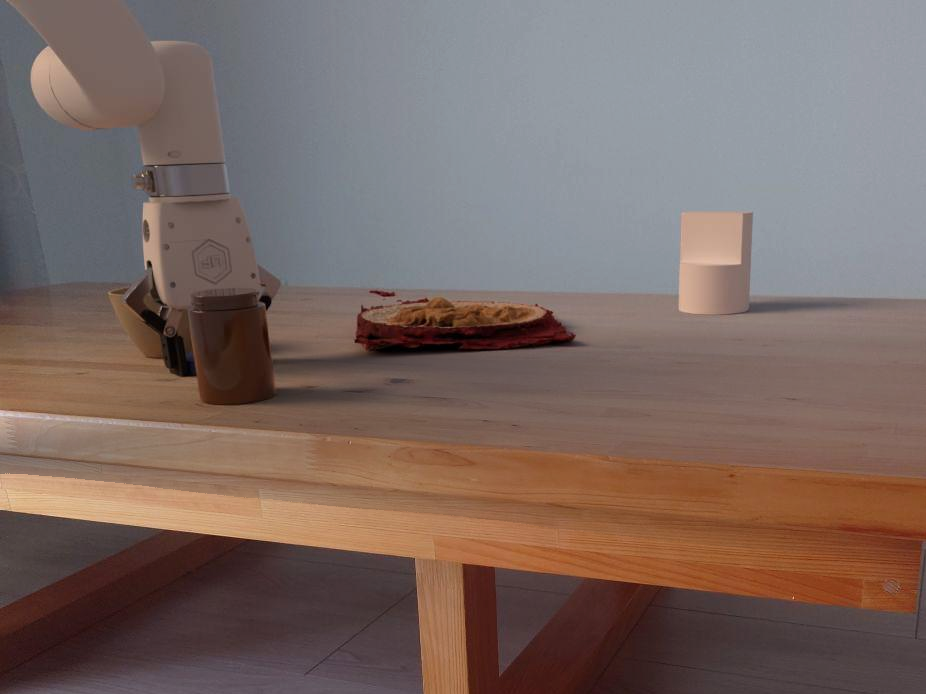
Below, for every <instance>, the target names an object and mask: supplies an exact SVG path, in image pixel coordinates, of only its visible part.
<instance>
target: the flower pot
mask: <svg viewBox="0 0 926 694" xmlns="http://www.w3.org/2000/svg"><path fill="white" fill-rule="evenodd" d="M131 286H132V285H130V286H124V287H120V288H119V287H118V288H115V289H113V290H110V291H108V292H107V293H108V294H107V295H108V297H109V300H110V303H111V306H112V308H113V311H114V312H115V315H116V317H117V318H118V321H119V323H120V324H121V326H122V328H123V329H124V331H125V332H126V334H127V336H128V337H129V339H130V340H131V341H132V343H133V344H134V345H135V346H136V348H137V349H139V351H140V352H141V353H142V354H143V356H145V357H146V358H147V357H148V358H153V359H157V358H158V359H159V358H163V352H162V346H161V341H160V335H159V334H157V333H156V332H155V331H154V330H153V329H151V328H150V327H149V326H147V325H146V324H145V323H143V322H142V321H141V320H140V319H139V318H138V317H137V316H136V315H135V314H134V313H132V312H131V311H130V310H129V309H128V308H127V307H126V306H125V305H124V304H123V303H122V302H121V298H122V296H123V295H124V294H125V293H126V291H127V290H128V289H129V288H130V287H131ZM144 303H145V305H146V306H147V307H148V308H149V309H150V310H151V311H153V312H155V313H156V314H158V311H159V308H160V305H158V304H155V303H154V302H153V301H152V300H151V298H150V295H149V293H148V294H147V295H146V296H145V298H144ZM177 333H178V335H179V336H181V337H182V338H183V341H184V347H185V353H189V352H193V348H192V342H191V335H190V328H189V322H188V315H187V309H185V310H183V313H182V316H181V319H180V322H179V325H178V329H177ZM163 359H164V358H163Z"/></svg>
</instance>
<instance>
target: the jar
mask: <svg viewBox="0 0 926 694" xmlns="http://www.w3.org/2000/svg"><path fill="white" fill-rule="evenodd" d="M258 296H259V291H257V290H256V289H252V288H222V289H211V290H203V291H198V292H194V293H192V294H191V301H192V302H190V304H191V305H192V306H191V307H189V308H187V315H188V322H189V328H190V335H191V342H192V348H193V351H192V352H193V355H194V361H195V368H196V374H197V375H196V381H197V386H198V394H199V399H200V401H201V402H203V403H204V404H205V403H206V404H209V405H219V406H221V405H222V406H223V405H224V406H226V405H231V406H232V405H242V404H251V403H257V402H260V401H264V400H268V399H270V398H273V397H274V396H275V395H276V394H277V389H276V380H275V374H274V373H275V372H274V365H273V357H272V349H271V348H272V347H271V342H270V333H269V326H268V316H267V311H266V308H265V303H263V302H259V299H258Z"/></svg>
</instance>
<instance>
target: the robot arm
mask: <svg viewBox="0 0 926 694" xmlns="http://www.w3.org/2000/svg"><path fill="white" fill-rule="evenodd" d="M5 1H6V2H7V3H8V4H9V5H10V6H12V8H14V9H15V11H17V12H18V13H19V14H20V15H21V16H22V17H23V18H24V19H25V20H26V22H28V23H29V24H30V26H31V27H32V28H33V29H34V30H35V31H36V32H37V33H38V35H39V36H40V37H41V38H42V39H43V40H44V42H45V43H46V44H47V45H48V46H46V47H45V48H43V49H42V50H41V51H40V53H38V55H37V56H36V58H34V61H33V63H32V67H31V70H30V86H31V91H32V93H33V96H34V99H35V100H36V102H37V104H38V105H39V107H40V108H41V109H42V110H43V111H44V113H46V114H47V115H48V116H49V117H50V118H52V120H54V121H56V122H58V123H59V124H61V125H64V126H65V127H68V128H71V129H75V130H79V131H101V130H107V129H114V128H115V129H117V128H129V127H133V126H136V128H137V134H138V140H139V146H140V153H141V158H142V159H141V160H142V165H143V166H141V172H138V174H132V175H131V176H130V183H131V187H132V188H133V190H141V191H143V192H144V191H145V195H146V196H147V197H148V201H146V202H145V201H144V202H143V204H142V229H141V230H142V250H143V264H144V271H143V272H142V273H141V275H140V276H139V277H138V278H137V279H136V280H135V281H134V282H133V283H132V284H131V285H130V286H131V287H130V286H129V287H130V288H129V289H128V290H127V291H126V293H125V294H124V295H123V296H122V298H121V302H122V303H123V304H124V305H125V306H126V307H127V308H128V309H129V310H130V311H131V312H132V313H134V314H135V315H136V316H137V317H138V318H139V319H140V320H141V321H142V322H143V323H145V324H146V325H147V326H149V327H150V328H151V329H153V330H154V331H155V332H156V333H157V334H159V335H160V341H161V346H162V352H163V363H164V365H165V368H166V369H169V373H170V374H172V375H175V376H178V377H182V378H183V377H187V376H188V375H189V374H188V366H187V360H186V354H185V347H184V341H183V338H182V337H181V336H179V335H178V333H177V329H178V325H179V322H180V319H181V316H182V313H183V310H185V309H187V308H189V307H191V306H192V305H191V304H190V302H192V301H191V294H192V293H194V292H198V291H203V290H211V289H222V288H252V289H256V290H257V291H259V296H258V299H259V302H263V303H265V308H266V312H267V311H268V310H269V309H270V307H271V305H272V301H273V299H274V298H275V296H276V294H277V293H278V291H279V290H280V287H281V284H282V282H281V280H280V279H279V278H278V277H276V276H275V275H273V274H272V273H270V272H269V271H268V270H266V269H265V268H264V267H262V266H261V265H260V264H258V260H257V255H256V251H255V246H254V242H253V241H254V240H253V238H252V233H251V230H250V225H249V223H248V220H247V216H246V212H245V211H244V210H245V209H244V207H243V204H242V201H241V199H240V197H232V196H231V189H230V181H229V175H228V167H227V163H226V162H227V161H226V151H225V145H224V139H223V131H222V124H221V117H220V108H219V102H218V101H219V100H218V94H217V87H216V80H215V72H214V66H213V60H212V58H211V55H210V53H209V52H208V50H207V49H206V48H205V47H204V46H203V45H201V44H199V43H196V42H191V41H185V40H183V41H182V40H152V41H151V40H150V38H149V37H148V36H147V34H146V33H145V31H144V29H143V28H142V26H141V25H140V24H139V22H138V21H137V19H136V18H135V16H134V15H133V13H132V12H131V10H130V9H129V8H128V6H127V5H126V3H125V2H124V0H5ZM148 293H149V295H150V298H151V300H152V301H153V302H154V303H155V304H158V305H160V308H159V311H158V314H156V313H155V312H153V311H151V310H150V309H149V308H148V307H147V306H146V305H145V303H144V298H145V296H146V295H147V294H148Z"/></svg>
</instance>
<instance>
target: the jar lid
mask: <svg viewBox="0 0 926 694" xmlns="http://www.w3.org/2000/svg"><path fill="white" fill-rule="evenodd" d="M185 354H186V360H187V366H188V374H187V375H188V376H189V375H190V376H197V374H196V368H195V361H194V355H193V351H192V352H189V353H185Z"/></svg>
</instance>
